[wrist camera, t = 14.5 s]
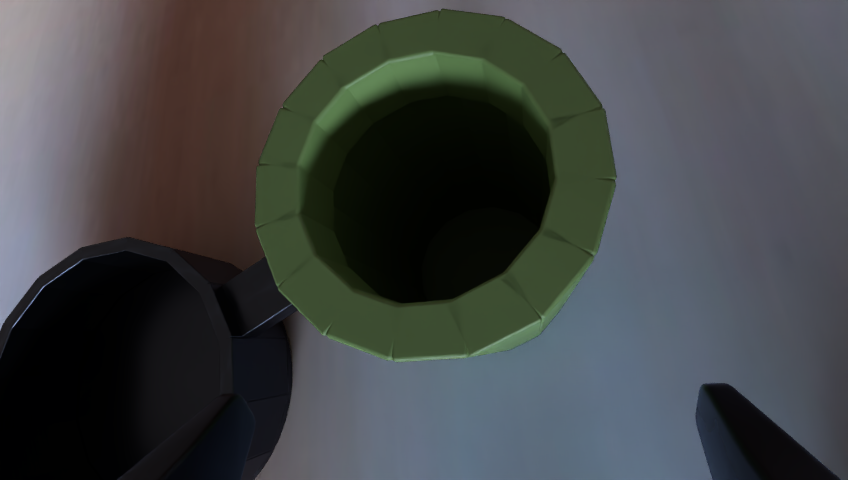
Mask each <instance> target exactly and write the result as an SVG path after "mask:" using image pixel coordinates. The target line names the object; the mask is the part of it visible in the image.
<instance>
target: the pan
mask: <svg viewBox="0 0 848 480" xmlns="http://www.w3.org/2000/svg"><path fill="white" fill-rule="evenodd" d="M297 310H298V309H297V308H296V307H295V306H294V305H293V304H292V303H291V302H290V301H289V300H288V299H287V298H286V297H285V296H284V295H283V294H282V293H281V292H280V291H279V290H278V286H277V285H276V283H275V280H274V278H273V275H272V272H271V270H270V267H269V264H268V262H267V259H266V257H264V258H263V259H261V260H260V261H258V262H257V263H255V264H254V265H252V266H251V267H249V268H248V269H246V270H244V271H241V270H239V269H238V268H236V267H235V266H234V265H232V264H230V263H227V262H223V261H219V260H215V259H212V258H208V257H204V256H200V255H196V254H193V253H189V252H185V251H181V250H178V249H174V248H170V247H166V246H162V245H158V244H154V243H150V242H146V241H142V240H138V239H134V238H131V237H126V238H121V239H117V240H112V241H108V242H103V243H99V244H95V245H90V246H86V247H82V248H80V249H78V250H77V251H75V252H74V253H73V254H71V255H70V256H68V257H67V258H65V259H64V260H62V261H61V262H60V263H58V264H57V265H55V266H54V267H52V268H51V269H49V270H48V271H47V272H45V273H44V274H42V275H41V276H39V278H37V280H36V281H35V282H34V283H33V285H32V286H31V287H30V289H29V290H28V291H27V293H26V294H25V295H24V297H23V298H22V299H21V300H20V302H19V303H18V304H17V306H16V307H15V308H14V310H13V311H12V312H11V314H10V315H9V316H8V317H7V319H6V320H5V323H3V325H2V328H1V330H0V480H117V479H119V478H120V477H121V476H122V475H123V474H125V473H126V472H127V471H128V470H129V469H131V468H132V467H133V466H134V465H135V464H137V463H138V462H139V461H140V460H141V459H143V458H144V457H145V456H146V455H148V454H149V453H150V452H151V451H152V450H154V449H155V448H156V447H157V446H158V445H160V444H161V443H162V442H163V441H164V440H166V439H167V438H168V437H169V436H170V435H172V434H173V433H174V432H175V431H176V430H178V429H179V428H180V427H181V426H183V425H184V424H185V423H186V422H187V421H189V420H190V419H191V418H192V417H193V416H195V415H196V414H197V413H198V412H199V411H201V410H202V409H203V408H204V407H205V406H207V405H208V404H209V403H210V402H211V401H213V400H214V399H215V398H216V397H218V396H219V395H221V394H230V393H237V394H240V395H241V396H242V397H243V398H244V400H245V401H246V403H247V405H248V406H249V408H250V410H251V411H252V413H253V415H254V417H255V423H256V424H255V431H254V434H253V438H252V441H251V445H250V449H249V452H248V456H247V460H246V463H245V467H244V470H243V474H242V478H241V480H254V479H255V478H256V476H257V475H258V474H259V473H260V472H261V470H262V469H263V467H264V465H265V464H266V462H267V461H268V459H269V458H270V456H271V454H272V452H273V450H274V448H275V446H276V444H277V442H278V440H279V438H280V435H281V432H282V429H283V426H284V423H285V420H286V416H287V412H288V408H289V403H290V396H291V387H292V362H291V353H290V346H289V342H288V338H287V334H286V330H285V327H284V325H283V322H282V320H283V319H285V318H286V317H288V316H289V315H291V314H292V313H294V312H295V311H297Z"/></svg>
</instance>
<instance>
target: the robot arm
mask: <svg viewBox="0 0 848 480" xmlns="http://www.w3.org/2000/svg"><path fill="white" fill-rule="evenodd" d="M255 424H256V423H255V417H254V415H253V413H252V411H251V410H250V408H249V406H248V405H247V403H246V401H245V400H244V398H243V397H242V396H241V395H240V394H237V393H230V394H221V395H219V396H218V397H216V398H215V399H214V400H213V401H211V402H210V403H209V404H208V405H207V406H205V407H204V408H203V409H202V410H201V411H199V412H198V413H197V414H196V415H195V416H193V417H192V418H191V419H190V420H189V421H187V422H186V423H185V424H184V425H183V426H181V427H180V428H179V429H178V430H176V431H175V432H174V433H173V434H172V435H170V436H169V437H168V438H167V439H166V440H164V441H163V442H162V443H161V444H160V445H158V446H157V447H156V448H155V449H154V450H152V451H151V452H150V453H149V454H148V455H146V456H145V457H144V458H143V459H141V460H140V461H139V462H138V463H137V464H135V465H134V466H133V467H132V468H131V469H129V470H128V471H127V472H126V473H125V474H123V475H122V476H121V477H120V478H119V479H117V480H241V478H242V474H243V470H244V467H245V463H246V460H247V456H248V452H249V449H250V445H251V441H252V438H253V434H254V431H255ZM696 424H697V429H698V432H699V436H700V439H701V442H702V446H703V449H704V453H705V456H706V460H707V463H708V466H709V470H710V473H711V477H712V480H841V479H840V478H839V477H837V476H836V475H835V474H834V473H833V472H832V471H830V470H829V469H828V468H827V467H826V466H825V465H823V464H822V463H821V462H820V461H819V460H818V459H816V458H815V457H814V456H813V455H812V454H811V453H809V452H808V451H807V450H806V449H805V448H804V447H802V446H801V445H800V444H799V443H798V442H797V441H795V440H794V439H793V438H792V437H791V436H790V435H788V434H787V433H786V432H785V431H784V430H783V429H781V428H780V427H779V426H778V425H777V424H776V423H774V422H773V421H772V420H771V419H770V418H769V417H767V416H766V415H765V414H764V413H763V412H762V411H760V410H759V409H758V408H757V407H756V406H755V405H753V404H752V403H751V402H750V401H749V400H748V399H746V398H745V397H744V396H743V395H742V394H741V393H739V392H738V391H737V390H736V389H735V388H734V387H732V386H731V385H729V384H725V383H709V384H703V385H702V386H701V387H700V390H699V396H698V402H697V408H696Z"/></svg>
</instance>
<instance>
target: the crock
mask: <svg viewBox="0 0 848 480" xmlns="http://www.w3.org/2000/svg"><path fill="white" fill-rule="evenodd" d="M282 106H283V108H280V109H279V111H278V114H277V116H276V119H275V121H274V124H273V126H272V129H271V131H270V134H269V136H268V139H267V141H266V144H265V146H264V149H263V151H262V154H261V156H260V159H259V165H258V166H257V168H256V202H255V227H256V228H257V229H256V232H257V235H258V237H259V240H260V243H261V245H262V248H263V251H264V254H265V256H266V259H267V262H268V264H269V267H270V270H271V272H272V275H273V278H274V280H275V283H276V285H277V286H278V290H279V291H280V292H281V293H282V294H283V295H284V296H285V297H286V298H287V299H288V300H289V301H290V302H291V303H292V304H293V305H294V306H295V307H296V308H297V309H298V310H299V312H300V313H301V314H302V315H303V316H304V317H305V318H306V319H307V320H308V321H309V322H310V323H311V324H312V325H313V326H314V327H315V328H316V329H317V330H318V331H319V332H320V333H321V334H322V335H327V336H328V337H329V338H330V339H332V340H335V341H338V342H340V343H343V344H345V345H348V346H351V347H353V348H356V349H359V350H361V351H364V352H366V353H369V354H372V355H374V356H377V357H379V358H382V359H385V360H393V361H395V362H408V361H425V360H442V359H459V358H468V357H474V356H480V355H485V354H491V353H496V352H501V351H506V350H511V349H513V348H515V347H517V346H519V345H521V344H523V343H526V342H527V341H529V340H531V339H533V338H535V337H537V336H539V335H540V334H541V333H542V332H543V330H544V329H545V328H546V327H547V326H548V324H549V323H550V322H551V321H552V320H553V318H554V317H555V316H556V315H557V314H558V312H559V311H560V309H561V308H562V307H563V305H564V304H565V302H566V301H567V299H568V298H569V296H570V295H571V293H572V292H573V290H574V289H575V287H576V286H577V284H578V283H579V281H580V280H581V278H582V277H583V275H584V273H585V272H586V270H587V269H588V267H589V266H590V264H591V263H592V262H593V259H594V257H595V255H596V254H597V252H598V248H599V245H600V241H601V237H602V234H603V230H604V227H605V223H606V219H607V216H608V212H609V209H610V205H611V202H612V198H613V194H614V191H615V187H616V183H615V180H616V177H617V175H616V169H615V164H614V158H613V152H612V146H611V140H610V135H609V129H608V123H607V117H606V111H605V110H604V108H603V107H602V104H601V102H600V101H599V99H598V98H597V97H596V95H595V94H594V93H593V91H592V90H591V88H590V87H589V86H588V84H587V83H586V81H585V80H584V79H583V77H582V76H581V74H580V73H579V72H578V70H577V69H576V67H575V66H574V65H573V63H572V62H571V60H570V59H569V58H568V56H567V55H566V54H565V53H563V51H562V50H561V49H560V48H559V47H557V46H555V45H553V44H552V43H550V42H548V41H546V40H545V39H543V38H541V37H539V36H538V35H536V34H534V33H532V32H530V31H529V30H527V29H525V28H523V27H522V26H520V25H518V24H516V23H515V22H513V21H511V20H509V19H505V17H503V16H495V15H487V14H479V13H472V12H464V11H456V10H448V9H441V10H440V11H438V10H435V11H431V12H427V13H422V14H418V15H413V16H409V17H404V18H400V19H396V20H391V21H387V22H382V23H380V24H379V25H373V26H371V27H370V28H368V29H366V30H365V31H363V32H362V33H360V34H358V35H357V36H355V37H353V38H352V39H350V40H349V41H347V42H345V43H344V44H342V45H340V46H339V47H337V48H335V49H334V50H332V51H331V52H329V53H327V54H326V55H324V56H323V60H320V61H319V62H318V63H317V64H316V65H315V66H314V67H313V69H312V70H311V71H310V72H309V73H308V74H307V76H306V77H305V78H304V79H303V80H302V82H301V83H300V84H299V85H298V86H297V87H296V89H295V90H294V91H293V92H292V93H291V94H290V96H289V97H288V98H287V99H286V100H285V101H284V103H283V105H282Z"/></svg>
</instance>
